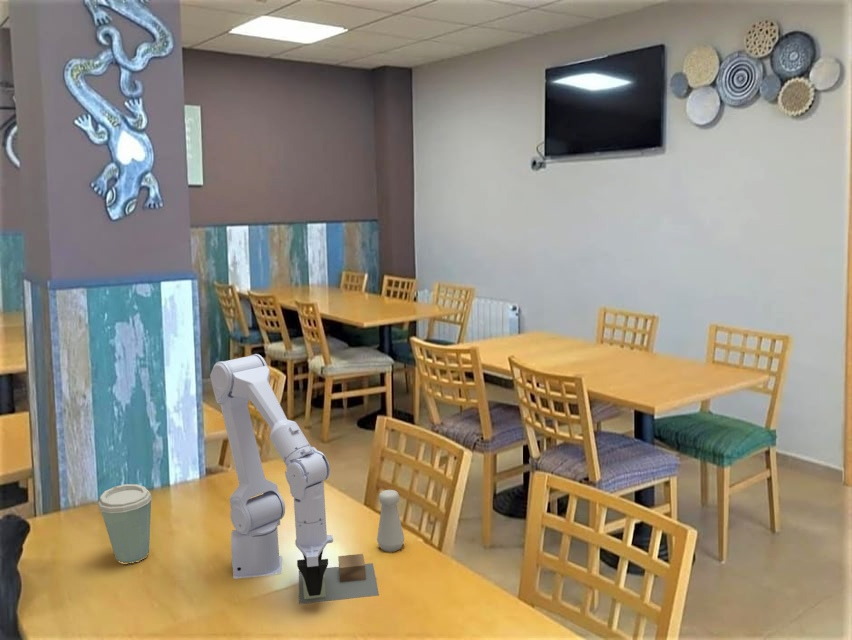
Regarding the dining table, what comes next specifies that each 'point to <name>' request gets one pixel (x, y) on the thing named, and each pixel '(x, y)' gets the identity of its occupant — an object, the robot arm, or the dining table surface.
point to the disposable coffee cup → (127, 520)
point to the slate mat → (343, 586)
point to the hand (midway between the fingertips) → (314, 584)
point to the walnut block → (351, 568)
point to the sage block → (306, 595)
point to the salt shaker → (389, 522)
